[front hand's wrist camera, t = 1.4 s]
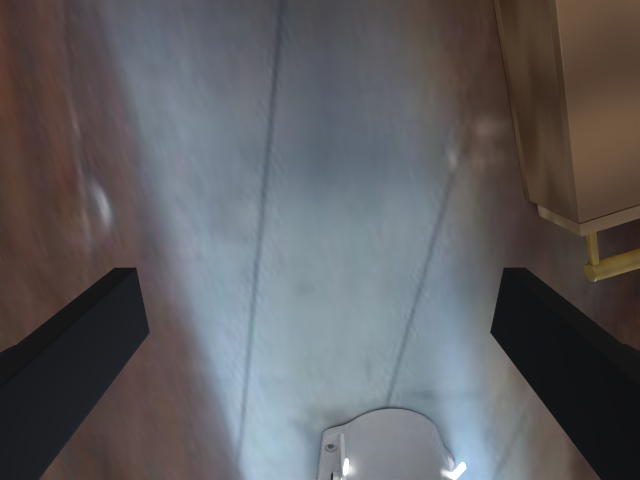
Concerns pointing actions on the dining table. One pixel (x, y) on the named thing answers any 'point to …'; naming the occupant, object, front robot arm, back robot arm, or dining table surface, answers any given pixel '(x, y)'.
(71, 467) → the dining table surface
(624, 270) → the drawer
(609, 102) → the cabinet
